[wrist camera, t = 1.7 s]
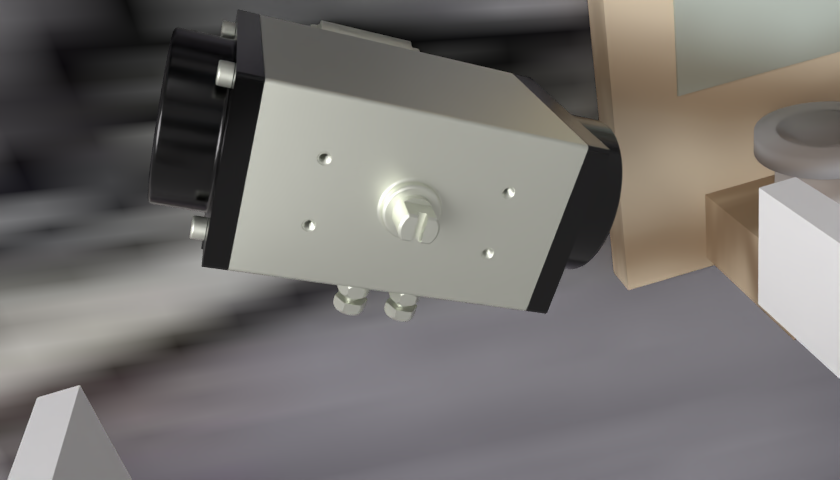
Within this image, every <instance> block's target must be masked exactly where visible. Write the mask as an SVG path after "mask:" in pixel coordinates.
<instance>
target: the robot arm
mask: <svg viewBox="0 0 840 480" xmlns="http://www.w3.org/2000/svg"><path fill="white" fill-rule="evenodd" d="M758 304H759V305H760V306H761V307H762V308H763V309H764V310H765V311H766V312H767V313H768V314H770V315H771V316H772V317H773V318H774V319H775V320H776V321H777V322H778V323H779V324H780V325H782V326H783V327H784V328H785V329H786V330H787V331H788V332H789V333H790V334H791V335H792V336H794V337H795V338H796V339H797V340H798V341H799V342H800V343H801V344H802V345H803V346H804V347H806V348H807V349H808V350H809V351H810V352H811V353H812V354H813V355H814V356H815V357H817V358H818V359H819V360H820V361H821V362H822V363H823V364H824V365H825V366H826V367H827V368H829V369H830V370H831V371H832V372H833V373H834V374H835V375H836V376H837V377H838V378H839V379H840V204H838V203H837V202H835V201H834V200H832V199H830V198H829V197H827V196H826V195H824V194H822V193H821V192H819V191H818V190H816V189H814V188H813V187H811V186H810V185H808V184H806V183H805V182H803V181H802V180H800V179H798V178H797V177H794V178H790V179H787V180H784V181H780V182H777V183H773V184H770V185H766V186H763V187H760V188H759V249H758ZM8 480H132V479H131V477H130V475H129V474H128V472H127V470H126V468H125V466H124V465H123V463H122V461H121V459H120V457H119V455H118V454H117V452H116V450H115V448H114V446H113V445H112V443H111V441H110V439H109V437H108V435H107V434H106V432H105V430H104V428H103V426H102V425H101V423H100V421H99V419H98V417H97V415H96V414H95V412H94V410H93V408H92V406H91V405H90V403H89V401H88V399H87V397H86V395H85V394H84V392H83V390H82V388H81V386H80V385H79V386H75V387H72V388H69V389H65V390H62V391H58V392H55V393H51V394H48V395H44V396H41V397H38V398H37V400H36V403H35V405H34V408H33V411H32V414H31V416H30V419H29V422H28V425H27V427H26V430H25V433H24V436H23V438H22V441H21V444H20V447H19V450H18V452H17V455H16V458H15V461H14V463H13V466H12V469H11V472H10V474H9V477H8Z"/></svg>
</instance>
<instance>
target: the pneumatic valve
mask: <svg viewBox="0 0 840 480" xmlns="http://www.w3.org/2000/svg"><path fill="white" fill-rule="evenodd" d="M621 189H622V157H621V151H620V147H619V144H618V141H617V138H616V136H615V134H614V133H613V131H612V130H611V128H610V127H609V126H608V125H606V124H605V123H603V122H601V121H598V120H594V119H589V118H585V117H580V116H576V115H571V114H570V113H569V112H568V111H567V110H565V109H564V108H563V107H562V106H561V105H560V104H559V103H558V102H557V101H556V100H554V99H553V98H552V97H551V96H550V95H549V94H548V93H547V92H546V91H544V90H543V89H542V88H541V87H540V86H539V85H538V84H537V83H536V82H535V81H533V80H532V79H531V78H529V77H525V76H521V75H517V74H512V73H508V72H504V71H500V70H495V69H491V68H487V67H482V66H478V65H474V64H470V63H465V62H461V61H457V60H452V59H448V58H444V57H440V56H435V55H431V54H427V53H422V52H420V51H419V49H417V48H412V46H411V42H410V41H407V40H403V39H399V38H394V37H390V36H386V35H382V34H378V33H373V32H369V31H365V30H361V29H356V28H352V27H348V26H344V25H340V24H335V23H331V22H327V21H323V20H321V21H320V24H317V25H315V24H311V25H310V26H307V25H303V24H298V23H294V22H290V21H286V20H281V19H277V18H273V17H268V16H264V15H259V14H256V13H251V12H247V11H243V10H237V16H236V22H235V23H234V22H229V21H225V20H224V21H223V23H222V29H221V35H220V36H215V35H211V34H207V33H202V32H197V31H193V30H188V29H184V28H179V27H177V28H175V29H174V31H173V34H172V37H171V42H170V46H169V51H168V56H167V61H166V67H165V72H164V78H163V84H162V89H161V96H160V102H159V108H158V114H157V121H156V128H155V134H154V141H153V149H152V156H151V164H150V172H149V181H148V194H147V198H148V202H149V203H150V204H155V205H162V206H168V207H174V208H181V209H187V210H194V211H200V212H205V217H201V216H193V219H192V225H191V232H190V238H191V239H197V240H202V248H201V249H203V257H202V267H208V268H216V269H223V270H230V271H238V272H245V273H252V274H260V275H267V276H274V277H282V278H289V279H296V280H304V281H311V282H318V283H326V284H333V285H338V289H339V292H338V293H336V294H335V297H334V301H333V303H334V306H335V308H336V309H337V310H338V311H340V312H342V313H344V314H347V315H358V314H360V313H361V312H362V311H363V309H364V308H365V305H366V302H367V299H366V298H365V297H366V296H367V294H368V293H369V291H370V290H377V291H384V292H389V295H390V298H389V299H388V300H387V301H386V304H385V307H384V310H385V313H386V314H387V315H388V316H389V317H390V318H392V319H394V320H397V321H401V322H406V321H410V320H411V319H412V317H413V316H414V314H415V311H416V308H417V305H416V303H417V302H418V300H419V298H420V296H421V297H428V298H436V299H443V300H450V301H458V302H465V303H472V304H480V305H487V306H494V307H502V308H509V309H516V310H524V311H531V312H538V313H547V311H548V309H549V306H550V304H551V301H552V299H553V296H554V294H555V291H556V289H557V286H558V284H559V281H560V279H561V276H562V274H563V271H564V269H576V268H579V267H581V266H583V265H585V264H586V263H588V262H589V261H590V260H591V259H592V258H593V257H594V256H595V255H596V253H597V252H598V251H599V250H600V248H601V247H602V245H603V244H604V242H605V240H606V238H607V236H608V234H609V232H610V230H611V228H612V225H613V223H614V220H615V217H616V213H617V210H618V206H619V201H620V196H621Z"/></svg>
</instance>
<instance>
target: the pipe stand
mask: <svg viewBox="0 0 840 480" xmlns="http://www.w3.org/2000/svg"><path fill="white" fill-rule="evenodd" d="M588 10H589V20H590V31H591V41H592V52H593V62H594V72H595V83H596V93H597V103H598V114H599V121H601V122H603V123H605V124H606V125H608V126H609V127H610V128H611V130H612V131H613V133H614V134H615V136H616V138H617V141H618V144H619V147H620V151H621V157H622V189H621V196H620V201H619V206H618V210H617V213H616V217H615V220H614V223H613V225H612V228H611V230H610V238H611V249H612V259H613V270H614V273H615V274H616V276H617V277H618V278H619V279H620V281H621V282H622V283H623V284H624V285H625V287H626V288H627V289H628V290H631V289H634V288H638V287H641V286H645V285H648V284H651V283H655V282H658V281H662V280H665V279H668V278H672V277H675V276H679V275H682V274H685V273H689V272H692V271H696V270H699V269H702V268H706V267H709V266H713V265H715V266H716V267H717V268H718V269H720V270H721V271H722V272H723V273H724V274H725V275H726V276H727V277H728V278H729V279H730V280H731V281H732V282H733V283H734V284H735V285H736V286H737V287H739V288H740V289H741V290H742V291H743V292H744V293H745V294H746V295H747V296H748V297H749V298H750V299H751V300H752V301H753V302H754V303H755V304H756V305H758V306H759V307H760V308H761V309H762V310H763V311H764V312H765V313H766V314H767V315H768V316H769V317H770V318H771V319H772V320H773V321H774V322H775V323H777V324H778V325H779V326H780V327H781V328H782V329H783V330H784V331H785V332H786V333H787V334H788V335H789V336H790V337H791V338H792V339H793V340H796V338H795V337H794V336H792V335H791V334H790V333H789V332H788V331H787V330H786V329H785V328H784V327H783V326H782V325H780V324H779V323H778V322H777V321H776V320H775V319H774V318H773V317H772V316H771V315H770V314H768V313H767V312H766V311H765V310H764V309H763V308H762V307H761V306H760V305H759V304H758V249H759V188H760V187H763V186H766V185H770V184H773V183H777V182H780V181H784V180H787V179H790V178H794V177H797V178H798V179H800V180H802V181H803V182H805V183H806V184H808V185H810V186H811V187H813V188H814V189H816V190H818V191H819V192H821V193H822V194H824V195H826V196H827V197H829V198H830V199H832V200H834V201H835V202H837V203H838V204H840V0H588Z"/></svg>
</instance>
